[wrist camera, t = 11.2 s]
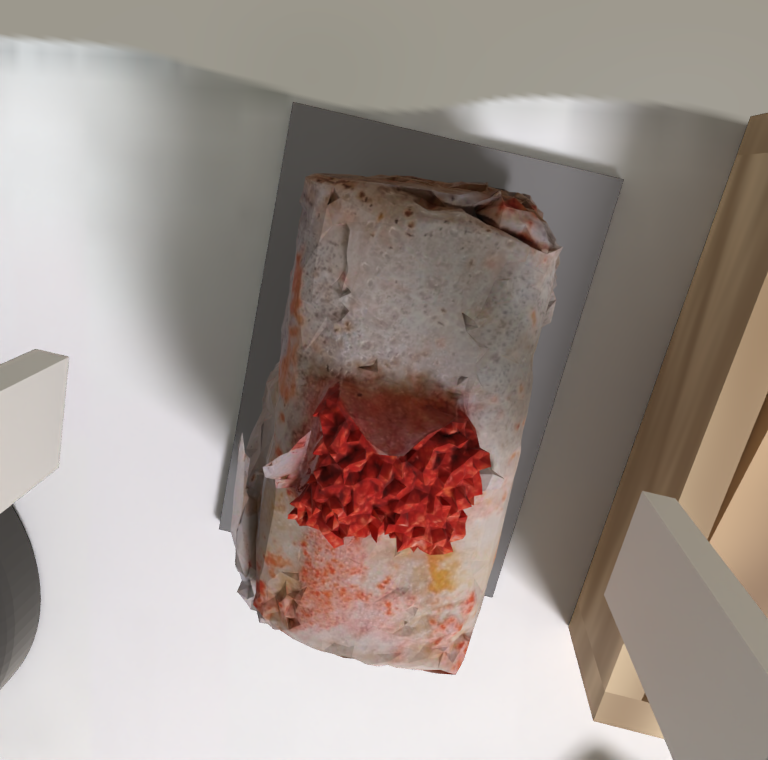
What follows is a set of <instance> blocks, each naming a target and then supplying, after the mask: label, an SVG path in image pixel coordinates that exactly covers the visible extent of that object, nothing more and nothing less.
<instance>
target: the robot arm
mask: <svg viewBox="0 0 768 760" xmlns="http://www.w3.org/2000/svg"><path fill="white" fill-rule="evenodd" d="M68 364H69V357H68V356H64V355H59V354H55V353H51V352H47V351H42V350H38V349H34V350H32V351H30V352H27V353H25V354H23V355H21V356H18V357H16V358H14V359H12V360H9V361H7V362H5V363H2V364H0V689H1V688H2V687H3V686H4V685H5V684H6V683H7V681H8V680H9V679H10V678H11V677H12V676H13V675H14V673H15V672H16V671H17V670H18V668H19V667H20V666H21V664H22V663H23V661H24V659H25V658H26V656H27V654H28V652H29V650H30V648H31V646H32V643H33V640H34V637H35V634H36V631H37V627H38V622H39V615H40V602H41V595H40V582H39V574H38V569H37V564H36V560H35V557H34V553H33V550H32V547H31V544H30V542H29V539H28V537H27V534H26V532H25V530H24V527H23V525H22V524H21V522H20V520H19V518H18V516H17V514H16V512H15V511H14V509H13V508H12V506H11V505H12V504H13V503H15V502H16V501H17V500H18V499H20V498H21V497H22V496H23V495H25V494H26V493H27V492H29V491H30V490H31V489H32V488H34V487H35V486H36V485H37V484H39V483H40V482H41V481H42V480H44V479H45V478H46V477H48V476H49V475H50V474H51V473H53V472H54V471H55V470H56V469H58V468H59V459H60V448H61V438H62V427H63V417H64V406H65V395H66V385H67V374H68ZM604 596H605V599H606V601H607V603H608V606H609V608H610V611H611V613H612V615H613V618H614V620H615V623H616V625H617V627H618V630H619V632H620V634H621V637H622V639H623V642H624V644H625V646H626V649H627V651H628V653H629V656H630V658H631V661H632V663H633V665H634V668H635V670H636V673H637V675H638V677H639V680H640V682H641V684H642V687H643V689H644V692H645V694H646V696H647V699H648V701H649V703H650V706H651V708H652V711H653V713H654V715H655V718H656V720H657V723H658V725H659V727H660V730H661V732H662V734H663V737H664V739H665V742H666V744H667V746H668V749H669V751H670V753H671V756H672V758H673V760H768V618H767V617H766V616H765V614H764V613H763V612H762V611H761V609H760V608H759V607H758V605H757V604H756V603H755V601H754V600H753V599H752V597H751V596H750V595H749V594H748V592H747V591H746V590H745V588H744V587H743V586H742V584H741V583H740V582H739V581H738V579H737V578H736V577H735V575H734V574H733V573H732V571H731V570H730V569H729V568H728V566H727V565H726V564H725V562H724V561H723V560H722V558H721V557H720V556H719V555H718V553H717V552H716V551H715V549H714V548H713V547H712V545H711V544H710V543H709V542H708V540H707V539H706V538H705V536H704V535H703V534H702V532H701V531H700V530H699V528H698V527H697V526H696V525H695V523H694V522H693V521H692V519H691V518H690V517H689V515H688V514H687V513H686V512H685V510H684V509H683V508H682V506H681V505H680V504H679V502H678V501H677V500H676V499H675V498H671V497H667V496H662V495H658V494H654V493H650V492H645V491H642V493H641V495H640V498H639V501H638V504H637V506H636V509H635V512H634V514H633V517H632V520H631V523H630V525H629V528H628V531H627V533H626V536H625V539H624V542H623V544H622V547H621V550H620V552H619V555H618V558H617V561H616V563H615V566H614V569H613V571H612V574H611V577H610V580H609V582H608V585H607V588H606V590H605V593H604Z"/></svg>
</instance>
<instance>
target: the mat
mask: <svg viewBox="0 0 768 760" xmlns="http://www.w3.org/2000/svg"><path fill="white" fill-rule="evenodd" d="M314 173H331V174H351V175H359V176H365V177H370V176H375V175H380V174H381V175H388V176H393V175H399V176H414V177H418V178H423V179H428V180H434V181H440V182H446V183H454V182H460V181H462V182H482V183H486V182H488V186H489V187H493V188H499V189H505V190H507V191H509V192H516V193H517V192H518V193H520V194H523V193H524V194H527V195H530V196H531V198H532V200H533V202H535V204H536V206H537V208H538V209H539V210H540V211H542V212H543V220H545V221H546V222H547V224H548V226H549V228H550V229H551V231H552V233H553V235H554V236H555V238H556V243H557V244H558V245H559V246H561V247H563V248H562V250H561V252H560V254H559V258H560V264H559V266H558V268H557V270H556V272H555V273H556V276H557V278H558V279H556V284H557V286H556V287H555V288H554V289H553V291H554V294H555V297H556V303H555V308H554V312H553V316H552V320H551V323H549V324H547V325H545V326H543V327H542V329H541V332H540V336H539V339H538V343H537V347H536V350H535V352H534V356H533V368H532V372H533V383H532V391H531V397H530V402H529V407H528V413H527V417H526V421H525V424H524V429H523V434H522V439H521V453H520V457H519V462H518V466H517V469H516V473H515V476H514V480H513V485H512V489H511V493H510V497H509V502H508V506H507V510H506V514H505V518H504V523H503V527H502V531H501V536H500V540H499V544H498V549H497V553H496V557H495V561H494V564H493V567H492V570H491V573H490V576H489V579H488V583H487V587H486V591H485V594H484V596H488V597H493V594H494V591H495V587H496V584H497V581H498V578H499V575H500V571H501V568H502V565H503V562H504V559H505V556H506V552H507V549H508V546H509V543H510V540H511V537H512V533H513V530H514V527H515V524H516V521H517V517H518V514H519V511H520V508H521V505H522V502H523V498H524V495H525V492H526V489H527V486H528V482H529V479H530V476H531V473H532V470H533V467H534V463H535V460H536V457H537V454H538V451H539V447H540V444H541V441H542V438H543V435H544V432H545V428H546V425H547V422H548V419H549V416H550V412H551V409H552V406H553V403H554V400H555V397H556V393H557V390H558V387H559V384H560V381H561V377H562V374H563V371H564V368H565V365H566V362H567V358H568V355H569V352H570V349H571V346H572V342H573V339H574V336H575V333H576V330H577V327H578V323H579V320H580V317H581V314H582V311H583V308H584V304H585V301H586V298H587V295H588V292H589V288H590V285H591V282H592V279H593V276H594V273H595V269H596V266H597V263H598V260H599V257H600V253H601V250H602V247H603V244H604V241H605V238H606V234H607V231H608V228H609V225H610V222H611V218H612V215H613V212H614V209H615V206H616V203H617V199H618V196H619V193H620V190H621V187H622V183H623V180H624V179H620V178H616V177H611V176H607V175H603V174H599V173H594V172H590V171H586V170H581V169H577V168H573V167H569V166H564V165H560V164H556V163H552V162H547V161H543V160H539V159H535V158H530V157H526V156H522V155H517V154H513V153H509V152H505V151H500V150H496V149H492V148H488V147H483V146H479V145H475V144H470V143H466V142H462V141H458V140H453V139H449V138H445V137H441V136H436V135H432V134H428V133H423V132H419V131H415V130H411V129H406V128H402V127H398V126H394V125H389V124H385V123H381V122H376V121H372V120H368V119H364V118H359V117H355V116H351V115H347V114H342V113H338V112H334V111H330V110H325V109H321V108H317V107H312V106H308V105H304V104H300V103H295V102H293V105H292V111H291V117H290V123H289V129H288V134H287V140H286V146H285V152H284V157H283V163H282V169H281V175H280V180H279V186H278V192H277V198H276V203H275V209H274V215H273V221H272V226H271V232H270V238H269V244H268V249H267V255H266V261H265V267H264V273H263V278H262V284H261V290H260V296H259V301H258V307H257V313H256V319H255V324H254V330H253V336H252V342H251V347H250V353H249V359H248V365H247V370H246V376H245V382H244V388H243V393H242V399H241V405H240V411H239V417H238V422H237V428H236V434H235V440H234V445H233V451H232V457H231V463H230V468H229V474H228V480H227V486H226V491H225V497H224V503H223V509H222V514H221V520H220V526H219V529H220V530H224V531H228V532H231V522H232V513H233V497H234V489H235V481H236V474H237V456H238V443H239V440H240V437H241V434H242V433H243V442H244V450H245V453H246V449H247V445H248V442H249V439H250V435H251V433H252V431H253V429H254V427H255V425H256V423H257V420H258V418H259V416H260V414H261V412H262V410H263V405H262V398H263V396H264V391H265V386H266V382H267V379H268V377H269V375H270V372H272V371H273V370H274V368H275V365H276V364H277V363H278V362H279V361H280V355H281V328H282V324H283V320H284V316H285V309H286V304H287V300H288V295H289V288H290V272H291V271H292V270H293V266H294V261H295V255H296V239H297V235H298V225H299V220H300V216H301V213H302V206H301V204H300V203H299V200H300V197H301V194H302V191H303V187H304V182H305V177H306V176H309V175H311V174H314Z"/></svg>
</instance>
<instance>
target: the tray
mask: <svg viewBox="0 0 768 760" xmlns="http://www.w3.org/2000/svg"><path fill="white" fill-rule="evenodd" d="M767 392H768V113H765V114H760V115H755V116H751V117H750V120H749V122H748V125H747V128H746V131H745V134H744V136H743V139H742V142H741V145H740V148H739V150H738V153H737V156H736V159H735V162H734V164H733V167H732V170H731V173H730V176H729V178H728V181H727V184H726V187H725V190H724V192H723V195H722V198H721V201H720V204H719V206H718V209H717V212H716V215H715V218H714V220H713V223H712V226H711V229H710V232H709V234H708V237H707V240H706V243H705V246H704V248H703V251H702V254H701V257H700V260H699V262H698V265H697V268H696V271H695V274H694V276H693V279H692V282H691V285H690V288H689V290H688V293H687V296H686V299H685V302H684V304H683V307H682V310H681V313H680V316H679V318H678V321H677V324H676V327H675V330H674V332H673V335H672V338H671V341H670V344H669V346H668V349H667V352H666V355H665V358H664V360H663V363H662V366H661V369H660V372H659V374H658V377H657V380H656V383H655V386H654V388H653V391H652V394H651V397H650V400H649V402H648V405H647V408H646V411H645V414H644V416H643V419H642V422H641V425H640V428H639V430H638V433H637V436H636V439H635V442H634V444H633V447H632V450H631V453H630V456H629V458H628V461H627V464H626V467H625V470H624V472H623V475H622V478H621V481H620V484H619V486H618V489H617V492H616V495H615V498H614V500H613V503H612V506H611V509H610V512H609V514H608V517H607V520H606V523H605V526H604V528H603V531H602V534H601V537H600V540H599V542H598V545H597V548H596V551H595V554H594V556H593V559H592V562H591V565H590V568H589V570H588V573H587V576H586V579H585V582H584V584H583V587H582V590H581V593H580V596H579V598H578V601H577V604H576V607H575V610H574V612H573V615H572V618H571V621H570V624H569V626H568V627H569V631H570V635H571V639H572V642H573V646H574V650H575V654H576V658H577V661H578V665H579V669H580V673H581V676H582V680H583V684H584V688H585V691H586V695H587V699H588V703H589V706H590V710H591V714H592V718H593V721H595V722H599V723H603V724H607V725H611V726H615V727H619V728H623V729H627V730H631V731H635V732H639V733H643V734H647V735H651V736H655V737H659V738H662V739H664V737H663V734H662V732H661V730H660V727H659V725H658V723H657V720H656V718H655V715H654V713H653V711H652V708H651V706H650V703H649V701H648V699H647V696H646V694H645V692H644V689H643V687H642V684H641V682H640V680H639V677H638V675H637V673H636V670H635V668H634V665H633V663H632V661H631V658H630V656H629V653H628V651H627V649H626V646H625V644H624V642H623V639H622V637H621V634H620V632H619V630H618V627H617V625H616V623H615V620H614V618H613V615H612V613H611V611H610V608H609V606H608V603H607V601H606V599H605V596H604V593H605V590H606V588H607V585H608V582H609V580H610V577H611V574H612V571H613V569H614V566H615V563H616V561H617V558H618V555H619V552H620V550H621V547H622V544H623V542H624V539H625V536H626V533H627V531H628V528H629V525H630V523H631V520H632V517H633V514H634V512H635V509H636V506H637V504H638V501H639V498H640V495H641V493H642V491H645V492H650V493H654V494H658V495H662V496H667V497H671V498H675V499H676V500H677V501H678V502H679V504H680V505H681V506H682V508H683V509H684V510H685V512H686V513H687V514H688V515H689V517H690V518H691V519H692V521H693V522H694V523H695V525H696V526H697V527H698V528H699V530H700V531H701V532H702V534H703V535H704V536H705V538H706V539H708V537H709V534H710V532H711V529H712V527H713V524H714V522H715V520H716V517H717V515H718V512H719V510H720V507H721V505H722V502H723V500H724V498H725V495H726V493H727V490H728V488H729V485H730V483H731V480H732V478H733V476H734V473H735V471H736V468H737V466H738V463H739V461H740V458H741V456H742V453H743V451H744V449H745V446H746V444H747V441H748V439H749V436H750V434H751V431H752V429H753V427H754V424H755V422H756V419H757V417H758V414H759V412H760V409H761V407H762V405H763V402H764V400H765V397H766V395H767Z"/></svg>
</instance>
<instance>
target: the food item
mask: <svg viewBox="0 0 768 760" xmlns="http://www.w3.org/2000/svg"><path fill="white" fill-rule="evenodd" d="M299 203H300V204H301V206H302V213H301V216H300V220H299V225H298V235H297V239H296V255H295V261H294V266H293V270H292V271H291V272H290V288H289V295H288V300H287V304H286V309H285V316H284V320H283V324H282V328H281V355H280V361H279V362H278V363H277V364H276V365H275V368H274V370H273V371H272V372H270V375H269V377H268V379H267V382H266V386H265V391H264V396H263V398H262V405H263V410H262V412H261V414H260V416H259V418H258V420H257V423H256V425H255V427H254V429H253V431H252V433H251V435H250V439H249V442H248V445H247V449H246V453H245V450H244V442H243V433H242V434H241V437H240V440H239V443H238V456H237V474H236V481H235V489H234V497H233V513H232V522H231V534H232V537H233V541H234V544H235V548H236V559H235V565H236V568H237V570H238V572H240V575H241V579H242V582H241V584H240V586H239V589H238V591H237V592H238V593H239V594H240V595H241V597H242V598H243V599H244V600H245V601H246V603H247V604H248V606H249V607H250V609H252V610H255V611H257V614H258V618H259V623H266V624H269V625H270V626H271V627H272V628H273V629H275V630H281V631H282V632H284V633H285V634H287V635H288V636H290V637H291V638H293V639H295V640H297V641H299V642H301V643H303V644H305V645H307V646H309V647H312V648H314V649H317V650H320V651H324V652H328V653H332V654H335V655H338V656H341V657H343V658H353V659H357V660H359V661H361V662H363V663H365V664H368V665H374V666H383V665H390V666H393V667H396V668H406V669H415V670H423V671H427V672H432V673H440V674H454V675H456V673H457V671H458V669H459V668H460V666H461V664H462V662H463V660H464V657H465V654H466V651H467V648H468V645H469V642H470V638H471V635H472V631H473V629H474V626H475V623H476V620H477V617H478V614H479V611H480V608H481V605H482V601H483V598H484V594H485V591H486V587H487V583H488V579H489V576H490V573H491V570H492V567H493V564H494V561H495V557H496V553H497V549H498V544H499V540H500V536H501V531H502V527H503V523H504V518H505V514H506V510H507V506H508V502H509V497H510V493H511V489H512V485H513V480H514V476H515V473H516V469H517V466H518V462H519V457H520V453H521V439H522V434H523V429H524V424H525V421H526V417H527V413H528V407H529V402H530V397H531V391H532V383H533V372H532V368H533V356H534V352H535V350H536V347H537V343H538V339H539V336H540V332H541V329H542V327H543V326H545V325H547V324H549V323H551V320H552V316H553V312H554V308H555V303H556V297H555V294H554V291H553V289H554V288H555V287H556V286H557V284H556V279H558V278H557V276H556V273H555V272H556V270H557V268H558V266H559V264H560V258H559V254H560V252H561V250H562V248H563V247H561V246H559V245H558V244H557V243H556V238H555V236H554V235H553V233H552V231H551V229H550V228H549V226H548V224H547V222H546V221H545V220H543V212H542V211H540V210H539V209H538V208H537V206H536V204H535V202H533V200H532V198H531V196H530V195H527V194H524V193H523V194H520V193H518V192H517V193H516V192H509V191H507V190H505V189H499V188H493V187H489V186H488V182H486V183H482V182H462V181H460V182H454V183H446V182H440V181H434V180H428V179H423V178H418V177H414V176H399V175H393V176H388V175H381V174H380V175H375V176H370V177H365V176H359V175H351V174H331V173H314V174H311V175H309V176H306V177H305V182H304V187H303V191H302V194H301V197H300V200H299Z"/></svg>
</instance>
